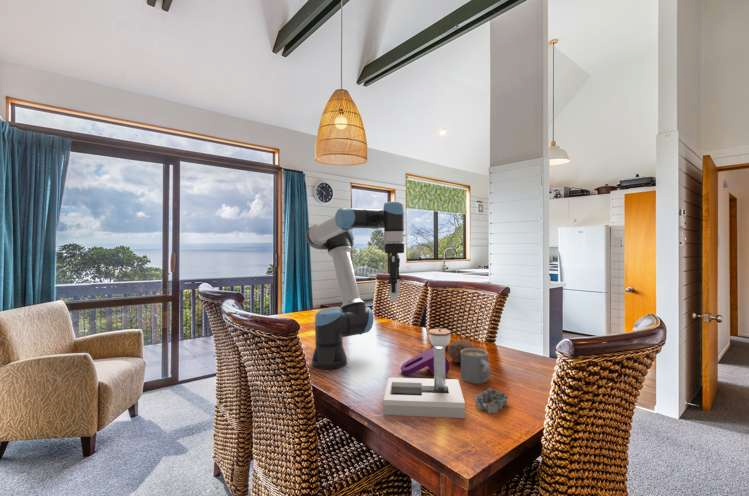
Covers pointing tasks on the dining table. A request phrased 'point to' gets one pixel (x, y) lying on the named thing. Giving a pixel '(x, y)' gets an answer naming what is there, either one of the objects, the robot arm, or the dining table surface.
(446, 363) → the mounting bracket
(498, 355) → the dining table surface
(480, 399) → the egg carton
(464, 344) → the decorative rock
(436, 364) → the headed peg
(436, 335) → the lidded jar
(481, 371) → the coffee mug
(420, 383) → the keyhole plate
